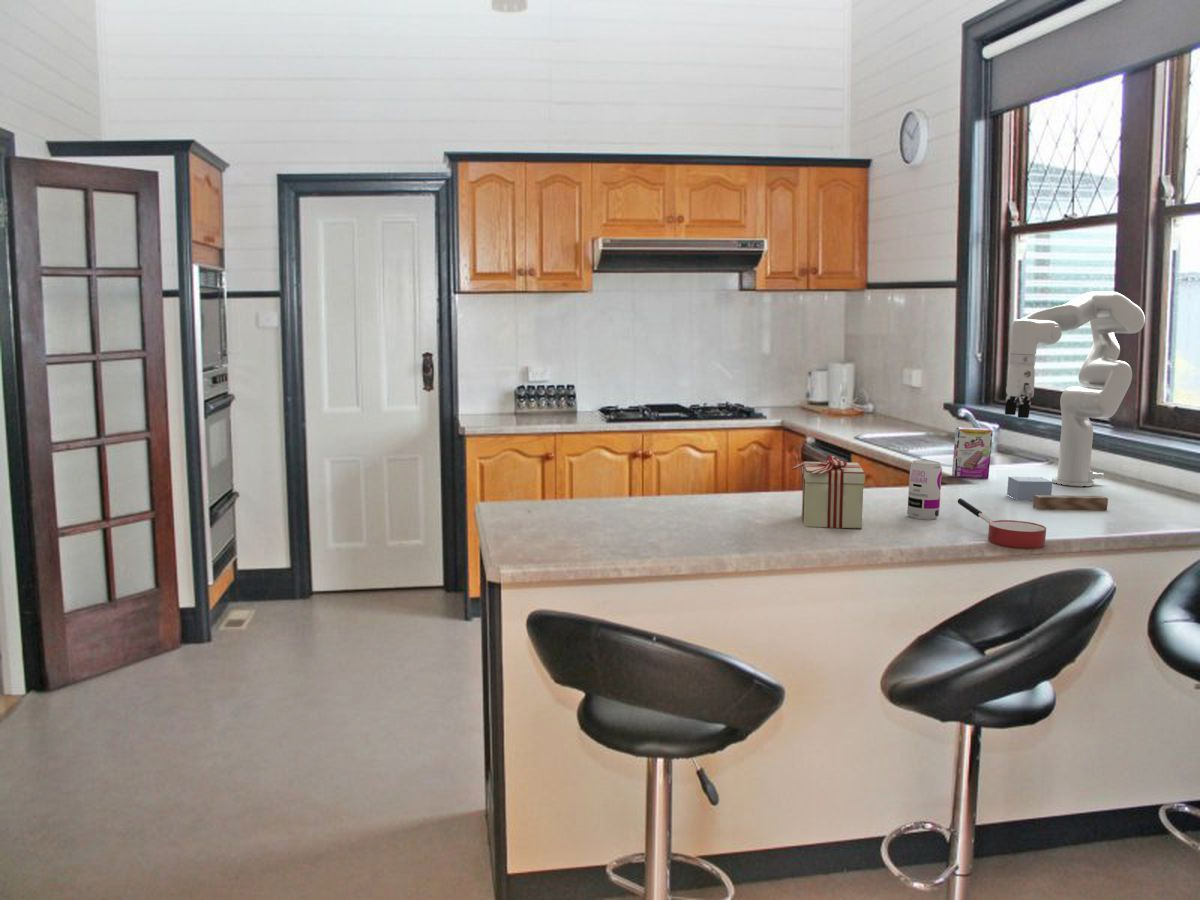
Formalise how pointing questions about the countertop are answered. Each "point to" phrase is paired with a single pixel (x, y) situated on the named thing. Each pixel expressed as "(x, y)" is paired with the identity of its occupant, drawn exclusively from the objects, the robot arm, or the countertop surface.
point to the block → (1028, 487)
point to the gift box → (832, 494)
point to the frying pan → (1011, 531)
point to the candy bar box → (972, 453)
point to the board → (1070, 502)
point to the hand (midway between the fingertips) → (1016, 416)
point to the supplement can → (924, 489)
